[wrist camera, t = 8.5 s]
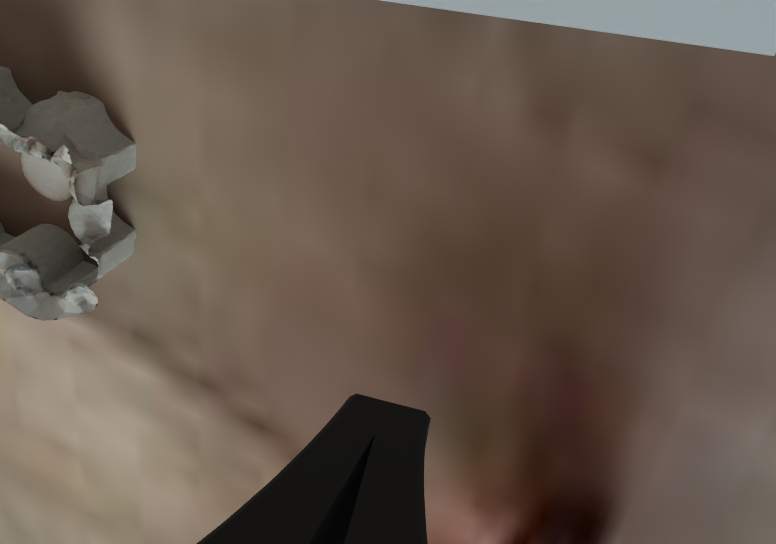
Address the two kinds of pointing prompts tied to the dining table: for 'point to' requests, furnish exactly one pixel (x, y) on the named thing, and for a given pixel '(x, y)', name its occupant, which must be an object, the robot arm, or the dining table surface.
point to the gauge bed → (643, 18)
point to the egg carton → (58, 183)
